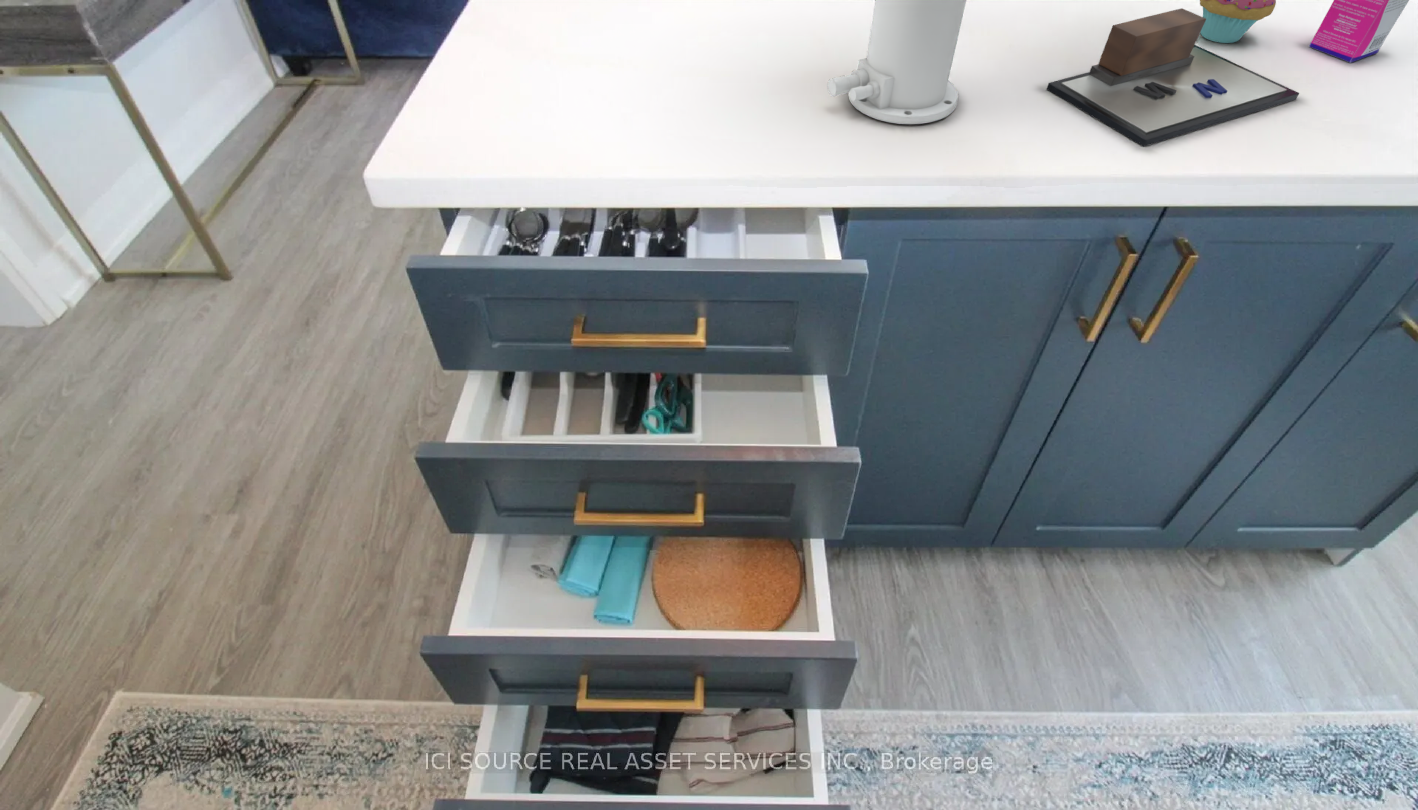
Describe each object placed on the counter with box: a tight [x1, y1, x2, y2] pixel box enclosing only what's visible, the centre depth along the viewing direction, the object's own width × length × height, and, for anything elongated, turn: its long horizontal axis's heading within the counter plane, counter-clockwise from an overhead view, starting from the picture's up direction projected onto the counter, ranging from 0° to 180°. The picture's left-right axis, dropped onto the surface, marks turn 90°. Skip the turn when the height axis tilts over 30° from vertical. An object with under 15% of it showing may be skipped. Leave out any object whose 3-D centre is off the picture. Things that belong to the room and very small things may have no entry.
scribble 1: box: [1133, 82, 1177, 99], centre depth 87 cm, size 4×3×1 cm
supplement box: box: [1309, 0, 1410, 64], centre depth 92 cm, size 6×6×12 cm
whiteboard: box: [1046, 44, 1300, 147], centre depth 89 cm, size 24×15×1 cm, turn 115°
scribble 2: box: [1193, 79, 1227, 98], centre depth 87 cm, size 4×3×1 cm
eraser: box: [1088, 7, 1206, 86], centre depth 89 cm, size 13×4×6 cm, turn 115°
